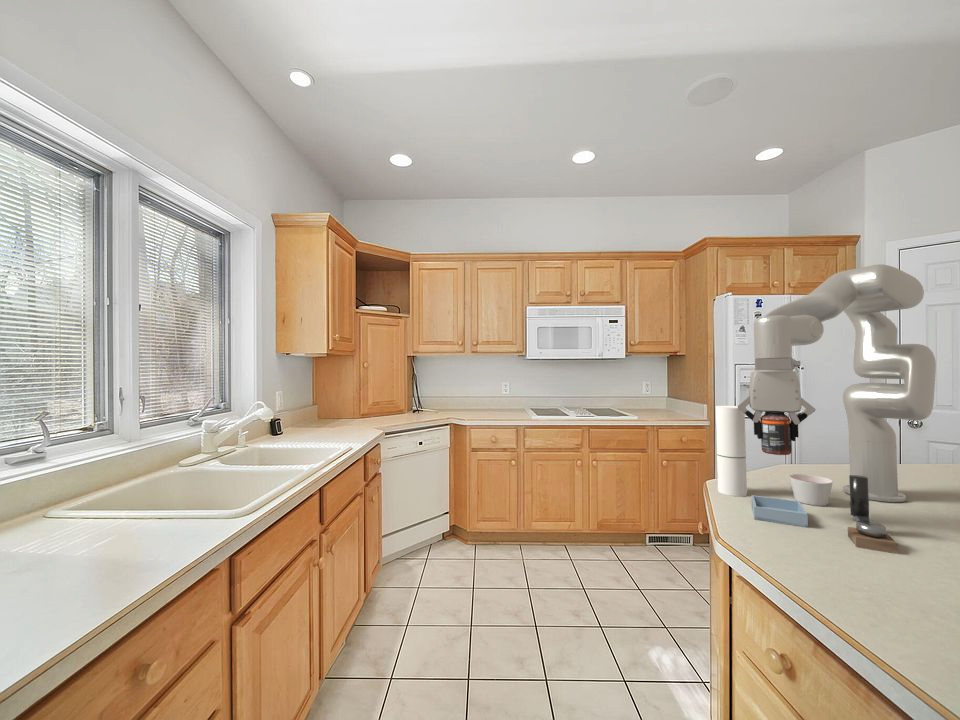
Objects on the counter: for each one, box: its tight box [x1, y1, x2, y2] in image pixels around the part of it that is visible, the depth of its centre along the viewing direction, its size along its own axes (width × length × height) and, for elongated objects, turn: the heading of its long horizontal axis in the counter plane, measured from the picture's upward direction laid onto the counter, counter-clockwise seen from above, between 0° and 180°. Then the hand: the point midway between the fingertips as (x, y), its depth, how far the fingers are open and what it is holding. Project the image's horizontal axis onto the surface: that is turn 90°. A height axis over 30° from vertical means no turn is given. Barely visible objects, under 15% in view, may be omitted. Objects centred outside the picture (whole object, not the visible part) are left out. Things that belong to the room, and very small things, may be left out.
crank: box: [848, 474, 888, 537], centre depth 84 cm, size 11×4×10 cm, turn 149°
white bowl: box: [788, 473, 834, 507], centre depth 106 cm, size 9×9×6 cm
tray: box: [750, 494, 809, 528], centre depth 97 cm, size 10×10×3 cm
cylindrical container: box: [715, 405, 748, 497], centre depth 115 cm, size 7×7×25 cm
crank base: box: [847, 526, 899, 555], centre depth 81 cm, size 6×6×2 cm
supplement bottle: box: [759, 411, 792, 456], centre depth 97 cm, size 6×6×11 cm
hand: (775, 438), depth 97 cm, fingers closed on supplement bottle, 6 cm apart
